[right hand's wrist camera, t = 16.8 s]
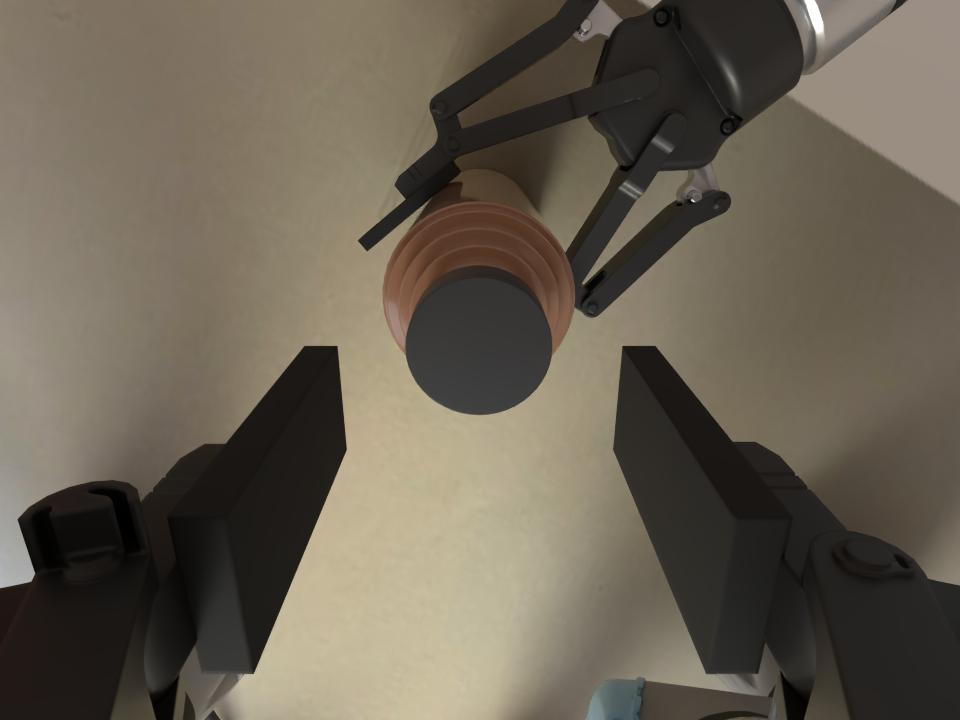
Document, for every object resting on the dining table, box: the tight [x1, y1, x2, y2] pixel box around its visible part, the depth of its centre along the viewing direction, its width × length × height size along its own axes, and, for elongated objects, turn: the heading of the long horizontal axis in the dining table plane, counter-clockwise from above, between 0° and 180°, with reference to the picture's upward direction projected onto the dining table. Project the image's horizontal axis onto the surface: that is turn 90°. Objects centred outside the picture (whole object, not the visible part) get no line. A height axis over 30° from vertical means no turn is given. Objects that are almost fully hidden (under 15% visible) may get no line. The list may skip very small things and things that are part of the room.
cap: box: [405, 265, 552, 415], centre depth 18 cm, size 4×4×2 cm
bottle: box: [383, 169, 575, 355], centre depth 29 cm, size 7×7×24 cm
